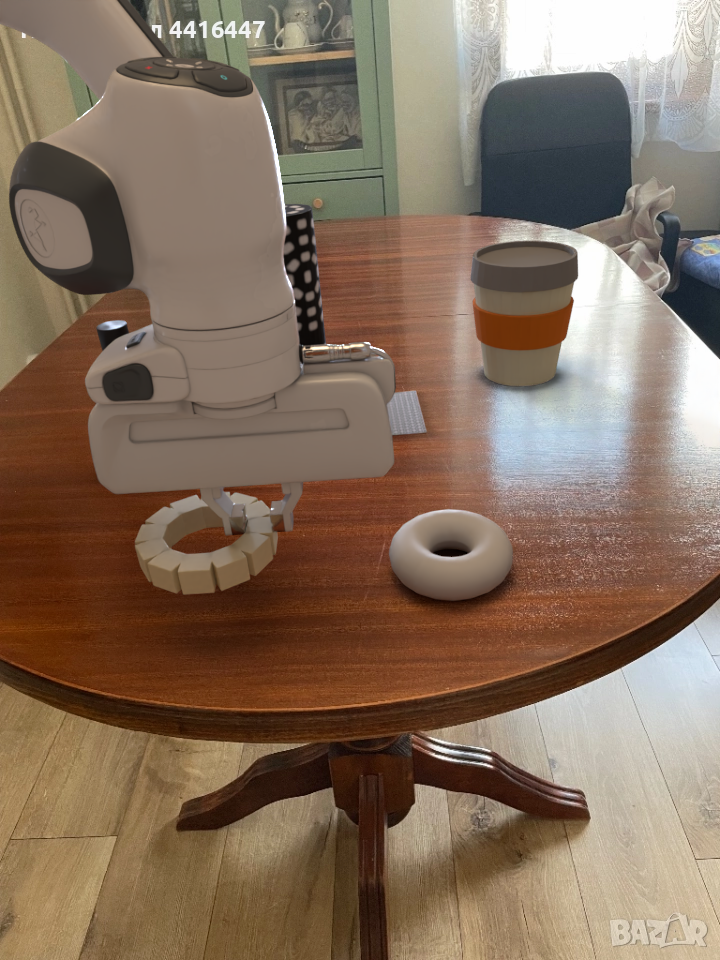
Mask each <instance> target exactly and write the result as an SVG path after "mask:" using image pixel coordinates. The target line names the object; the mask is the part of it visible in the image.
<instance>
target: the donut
mask: <svg viewBox="0 0 720 960" xmlns="http://www.w3.org/2000/svg"><path fill="white" fill-rule="evenodd" d="M442 550H459V551H463V552H467V554H463V555H459V556H452V557H451V556H441V555H438V554H436V553H435V552H439V551H442ZM388 556H389V561H390V566H391V570H392V572H393V573H394V574H395V575H396V577H397V578H398V580H400V582H401V583H402V584H403V586H405V587H406V588H408V589H410V590H411V591H413V592H415V593H416V594H418V595H421V596H423V597H427V598H430V599H434V600H441V601H450V602H451V601H452V602H455V601H463V600H472V599H473V598H476V597H479V596H482V595H484V594H488V593H490V592H491V591H492V590H494V589H495V588H496V587H498V586H499V585H501V584H502V583H503V581H504V580H505V579H506V577H507V575H508V574H509V572H510V571H511V569H512V566H513V558H514V557H513V556H514V548H513V545H512V542H511V541H510V539H509V537H508V534H507V533H506V531H505V530H504V529H503V528H502V527H501V526H499V525H498V523H496V522H495V521H493V520H492V519H490V518H488V517H486V516H484V515H482V514H480V513H476V512H472V511H468V510H463V509H451V508H450V509H440V510H431V511H429V512H426V513H425V512H424V513H422V514H418V515H416V516H415V517H414V518H412V519H410V520H408V521H407V522H405V523H403V524H402V526H401V527H400V528H399V529H398V530H397V531H396V532H395V534H394V535H393V537H392V539H391V543H390V546H389V550H388Z"/></svg>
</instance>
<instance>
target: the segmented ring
mask: <svg viewBox="0 0 720 960" xmlns="http://www.w3.org/2000/svg"><path fill="white" fill-rule="evenodd" d="M224 492H225V493H226V495H227V496H228V497H229V498H230V499H231V500H232V502H233V503H234V504H242V503H245V507H246V515H247V519H248V522H247V527H246V532H245V533H244V534H243V535H240V536H239V537H238V538H237V539H236V540H235V541H234V542H233V543H232V544H230V545H227V546H225V547H222V548H219V549H216V550H214V551H211V552H201V553H200V552H199V553H184V552H182V551H178V550H175V549H172V548H173V546H175V545H176V544H177V543H178V542H180V541H181V540H182V539H184V538H185V537H186V536H187V535H190V534H193V533H197V532H199V531H201V530H204V529H207V528H211V529H212V528H224V526H223V521H222V518H220V517H219V516H218V515H217V514H216V513H215V512H214V511H213V510H212V509H211V508H210V507H209V506H208V505H207V504H206V503H205V502H204V501H203V500H202V497H200V498H199V496H198V495H197V494H195V495H191V496H188V497H186V498H183V499H179V500H177V501H176V500H175V501H173V502H170V503H169V507H167V506H163V507H162V508H160V509H159V510H158V511H156V512H155V513H154V514H152V515H151V516H149V517H148V518H147V519H146V520H144V522H145V524H141V526H140V528H139V530H138V533H137V536H136V538H135V540H134V549H135V552H136V556H137V559H138V563H139V567H140V569H141V570H142V572H143V574H144V575H145V578H146V579H147V581H148V582H149V583H152V586H154V587H157V588H160V589H162V590H165V591H168V592H171V593H174V594H178V593H180V592H182V595H197V594H198V595H199V594H214V593H215V592H216V588H217V587H218V588H219V590H220V591H221V592H222V591H225V590H227V589H230V588H233V587H235V586H237V585H239V584H242V583H245V582H248V581H250V580H251V576H254V577H256V576H257V575H258V574H260V573H261V571H263V570H264V569H265V567H266V566H268V565H269V564H270V563H271V562H272V561H273V560H274V556H275V555H276V554H277V547H278V541H279V540H278V539H279V535H278V532H273V531H272V523H271V521H270V510H271V508H270V507H269V506H267V504H266V503H265V502H264V501H263V500H258V497H255V496H250V495H247V494H244V493H239V492H234V493H232V494H231V492H230V491H224Z"/></svg>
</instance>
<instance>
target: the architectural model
mask: <svg viewBox="0 0 720 960" xmlns="http://www.w3.org/2000/svg"><path fill="white" fill-rule="evenodd" d="M376 356H377V355H375V354H371V357H376ZM387 408H388V413H389V419H390V425H391V432H392V436H400V435H401V436H402V435H410V434H423V433H428V431H427V427H426V424H425V420H424V416H423V412H422V409H421V404H420V401H419V397H418V394H417V391H416V390H410V391H409V390H407V391H398V392H397V391H395V393H394V396H393V398H392V399H391V401H390V402H389V403H388V404H387Z"/></svg>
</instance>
